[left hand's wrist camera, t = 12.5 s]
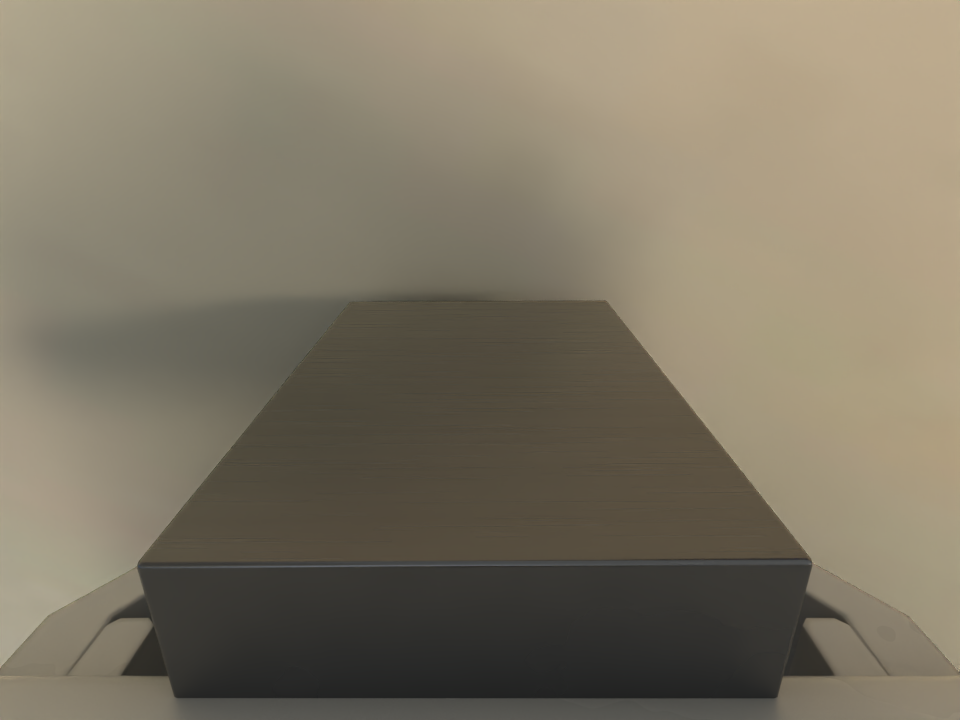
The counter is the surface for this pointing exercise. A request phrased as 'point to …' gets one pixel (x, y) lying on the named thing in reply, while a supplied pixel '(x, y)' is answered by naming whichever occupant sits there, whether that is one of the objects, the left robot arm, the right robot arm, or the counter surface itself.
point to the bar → (476, 525)
